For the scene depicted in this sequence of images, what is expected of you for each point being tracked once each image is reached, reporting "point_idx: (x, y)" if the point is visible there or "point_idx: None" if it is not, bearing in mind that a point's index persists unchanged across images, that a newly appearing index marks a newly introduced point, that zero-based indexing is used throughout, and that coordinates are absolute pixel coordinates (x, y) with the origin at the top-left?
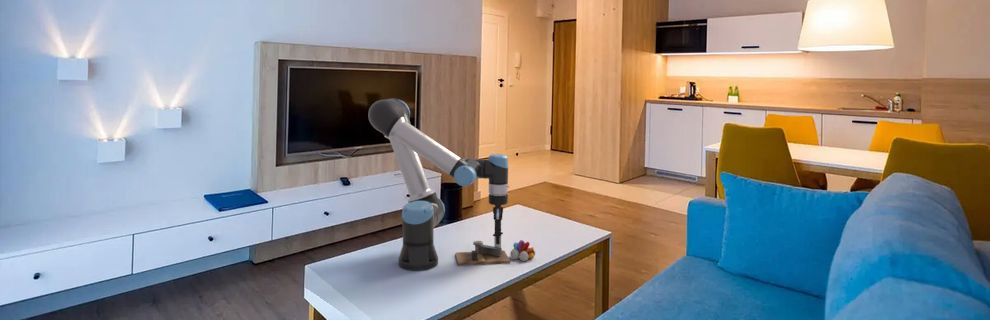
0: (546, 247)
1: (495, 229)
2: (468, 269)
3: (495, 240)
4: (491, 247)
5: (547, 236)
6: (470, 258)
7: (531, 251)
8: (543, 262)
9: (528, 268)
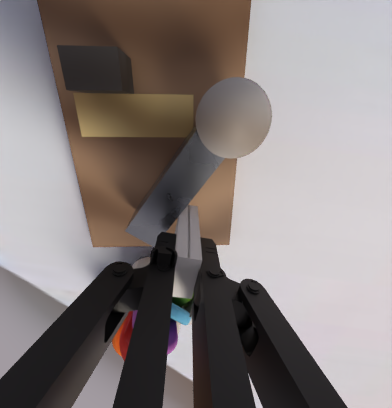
0: None
1: (57, 324)
2: None
3: (175, 241)
4: (163, 197)
5: (349, 371)
6: (123, 50)
7: None
8: None
9: (44, 288)
